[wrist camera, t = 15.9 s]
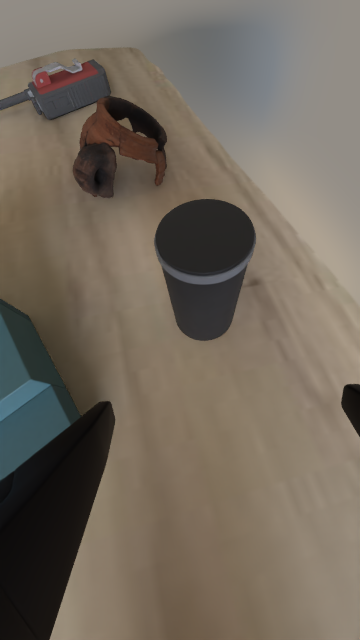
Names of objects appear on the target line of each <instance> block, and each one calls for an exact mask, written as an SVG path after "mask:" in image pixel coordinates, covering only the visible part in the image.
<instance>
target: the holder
mask: <svg viewBox="0 0 360 640" xmlns="http://www.w3.org/2000/svg"><path fill="white" fill-rule="evenodd" d="M255 243H256V234H255V230H254V227H253V224H252V222H251V220H250V219H249V217H248V216H247V215H246V214H245V212H243V211H242V210H241V209H240V208H238V207H236V206H235V205H233V204H230V203H228V202H225V201H220V200H214V199H201V200H194V201H190V202H187V203H184V204H182V205H179V206H178V207H176V208H174V209H173V210H171V211H170V212H169V213H168V214H166V216H165V217H164V218H163V219H162V220H161V222H160V224H159V226H158V228H157V231H156V234H155V239H154V245H155V250H156V254H157V257H158V260H159V262H160V264H161V265H162V269H163V273H164V277H165V280H166V284H167V288H168V292H169V296H170V299H171V303H172V307H173V311H174V315H175V318H176V322H177V325H178V327H179V328H180V330H181V331H182V332H183V333H184V334H185V335H187V336H189V337H190V338H193V339H196V340H202V341H206V340H212V339H215V338H218V337H219V336H221V335H222V334H224V333H225V332H226V331H227V330H228V328H229V327H230V325H231V322H232V318H233V315H234V311H235V308H236V304H237V300H238V297H239V293H240V290H241V286H242V282H243V279H244V275H245V272H246V268H247V264H248V262H249V261H250V259H251V257H252V254H253V251H254V247H255Z"/></svg>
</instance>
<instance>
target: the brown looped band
mask: <svg viewBox="0 0 360 640" xmlns="http://www.w3.org/2000/svg"><path fill="white" fill-rule="evenodd" d="M124 118H128V119H129V121H130V123H131V125H132V129H133V132H132V131H130V130H129V129H127V128H125V127H123V126H121V125H120V124H119V123H118V122H117V121H119V120H122V119H124ZM136 132H141V133H143V134H144V135H145V136H147V137H148V138H147V137H143V136H140V135H139V134H136ZM166 142H167V136H166V133H165V131H164V129H163V128H162V126H161V125H160V124H159V123H158V122H157V121H156V119H154V118H153V117H152V116H151V115H150V114H148V113H147V112H146V111H144V110H143V109H141V108H140V107H138V106H136V105H134V104H133V103H131V102H129V101H127V100H124V99H121V98H116V97H112V96H105V97H104V98H100V99H99V100H98V101H97V110H96V112H95V113H94V114H92V116H90V117H89V118H88V119H87V120H86V122H85V124H84V125H83V128H82V132H81V138H80V151H79V153H78V156H77V158H76V159H75V162H74V165H73V174H74V177H75V179H76V181H77V183H78V184H79V186H80V187H81V188H82V189H83V190H84V191H86V192H88V193H90V194H92V195H93V196H94V197H97V195H100V196H101V197H104V198H110V197H113V180H114V174H115V172H116V168H117V164H116V155H115V152H114V150H113V149H112V148H111V147H119V154H120V155H122V156H127V157H130V158H132V159H135V160H144V161H146V162H148V163H155V165H156V178H155V184H156V185H157V186H158V185H160V184H161V183H162V181H163V177H164V176H165V173H164V172H165V169H166V167H167V164H166V154H165V150H164V145H165V143H166ZM157 149H158V150H157Z"/></svg>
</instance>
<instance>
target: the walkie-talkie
mask: <svg viewBox="0 0 360 640" xmlns="http://www.w3.org/2000/svg"><path fill="white" fill-rule="evenodd" d="M72 61H73V63H74V64H75V65H73V66H70V67H66V66H64V65H62V64H60V63H58V62H54V63H51V64H49V65H46V66H45V67H40V68H37V69H35V70H33V72H32V79H33V82H30V83H28V87H29V88H28V89H26V90H24V92H21V93H18V94H16V95H13V96H10V97H8V98H5V99H2V100H0V110H2V109H5V108H8V107H11V106H13V105H16V104H19V103H21V102H24V101H27V100H29V101H30V100H31V101H32V103H33V105H34V107H35V108H36V110H37V112H38V114H39V115H41V114H42V112H43V113H44V115H45V116H46V117H47V119H54V118H57V117H59V116H62V115H64V114H67V113H69V112H72V111H74V110H77V109H79V108H82V107H84V106H87V105H89V104H92V103H94V102H97V101H98V100H99V99H100V98H104V97H105V96H109V95H110V93H111V91H110V87H109V83H108V80H107V76H106V73H105V70H104V68H103V67H102V66H101V65H100V64H98V63H97V62H96V61H95V60H90V61H88V62H85V63H83V64H80V62H78V61H77V60H76V59H73V60H72ZM60 68H62V69H64V70H63V71H61V72H58V73H55V74H52V75H50V76H48V74H47V72H51V71H54V70H57V69H60Z"/></svg>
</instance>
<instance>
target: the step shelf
mask: <svg viewBox="0 0 360 640" xmlns="http://www.w3.org/2000/svg"><path fill="white" fill-rule="evenodd" d="M80 417H81V415H80V414H79V412H78V410H77V408H76V406H75V404H74V402H73V400H72V398H71V396H70V395H69V393H68V391H67V389H66V387H65V385H64V383H63V381H62V379H61V377H60V375H59V373H58V372H57V370H56V368H55V366H54V364H53V362H52V360H51V358H50V356H49V354H48V353H47V351H46V349H45V347H44V345H43V343H42V341H41V339H40V337H39V335H38V334H37V332H36V330H35V328H34V326H33V324H32V322H31V320H30V318H29V316H28V315H26V314H25V313H23V312H21V311H20V310H18V309H16V308H15V307H13V306H12V305H10V304H8V303H7V302H5V301H3V300H2V299H0V481H1V480H2V479H3V478H5V477H6V476H7V475H8V474H10V473H11V472H12V471H15V469H16V468H17V467H18V466H20V465H21V464H22V463H24V462H25V461H26V460H27V459H29V458H30V457H31V456H32V455H34V454H35V453H36V452H37V451H39V450H40V449H41V448H42V447H44V446H45V445H46V444H47V443H49V442H50V441H51V440H52V439H54V438H55V437H56V436H57V435H59V434H60V433H61V432H62V431H64V430H65V429H66V428H67V427H69V426H70V425H71V424H72V423H74V422H75V421H76V420H77V419H79V418H80Z"/></svg>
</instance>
